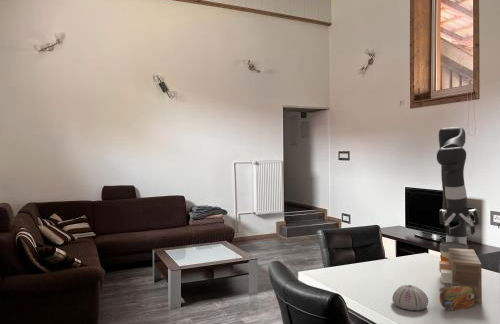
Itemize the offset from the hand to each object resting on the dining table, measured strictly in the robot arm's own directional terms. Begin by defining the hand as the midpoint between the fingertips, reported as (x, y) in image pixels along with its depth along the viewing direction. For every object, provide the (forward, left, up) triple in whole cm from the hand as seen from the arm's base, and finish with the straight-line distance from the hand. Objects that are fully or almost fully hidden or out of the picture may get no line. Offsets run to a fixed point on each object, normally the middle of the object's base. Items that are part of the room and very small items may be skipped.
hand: (460, 233), depth 160 cm
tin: (+13, -2, -27) cm, 30 cm away
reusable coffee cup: (-30, 0, -27) cm, 40 cm away
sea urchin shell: (+17, -19, -27) cm, 37 cm away
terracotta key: (-14, -4, -20) cm, 25 cm away
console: (-6, +2, -26) cm, 27 cm away
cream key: (0, -4, -20) cm, 21 cm away
